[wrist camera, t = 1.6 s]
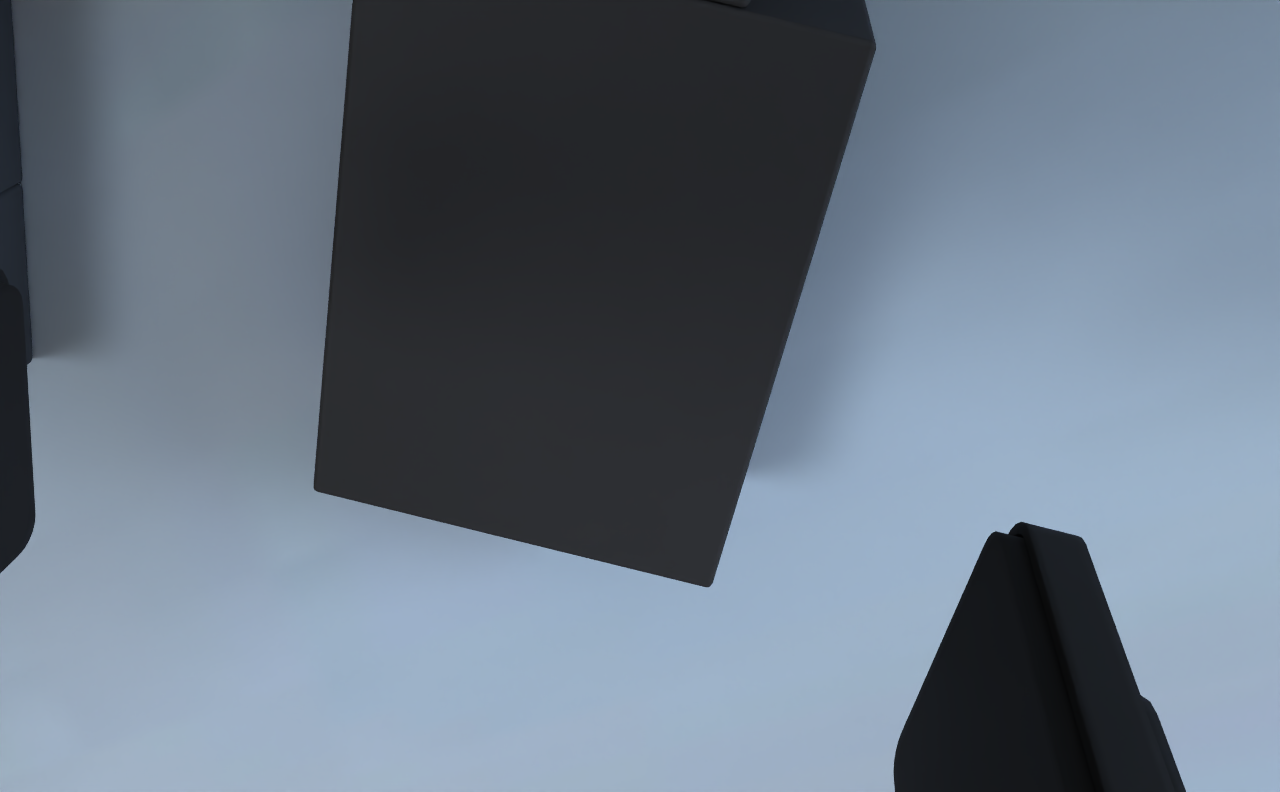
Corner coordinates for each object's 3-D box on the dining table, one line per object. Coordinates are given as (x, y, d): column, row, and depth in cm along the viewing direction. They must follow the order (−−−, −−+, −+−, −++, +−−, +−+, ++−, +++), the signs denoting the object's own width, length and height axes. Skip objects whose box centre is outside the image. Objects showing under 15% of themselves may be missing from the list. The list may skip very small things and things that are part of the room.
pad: (460, -371, 14) (382, -401, 11) (939, -256, 14) (971, -259, 11) (377, 394, 20) (311, 492, 17) (722, 479, 19) (710, 590, 17)
